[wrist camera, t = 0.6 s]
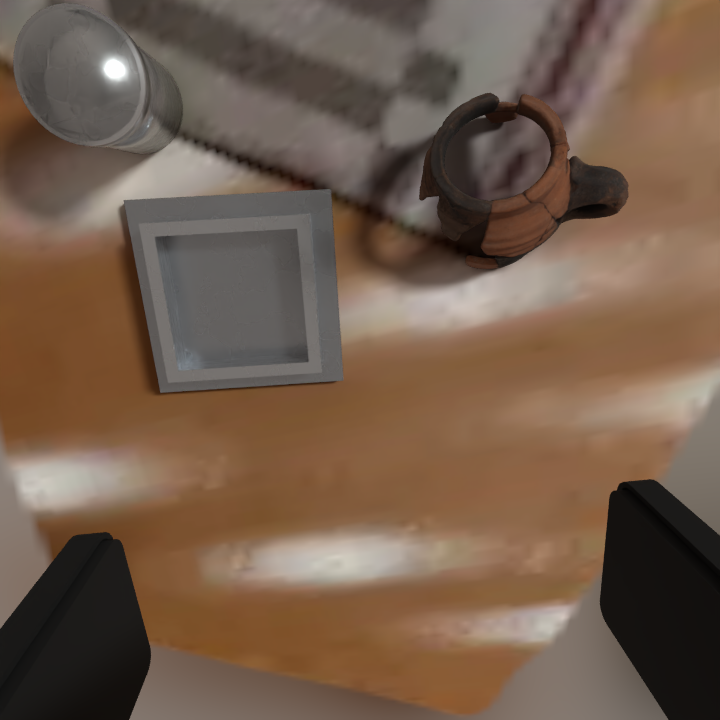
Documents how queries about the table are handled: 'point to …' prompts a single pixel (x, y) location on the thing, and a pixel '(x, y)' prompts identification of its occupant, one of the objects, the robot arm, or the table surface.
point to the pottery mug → (535, 205)
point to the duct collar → (239, 288)
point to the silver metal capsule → (94, 82)
